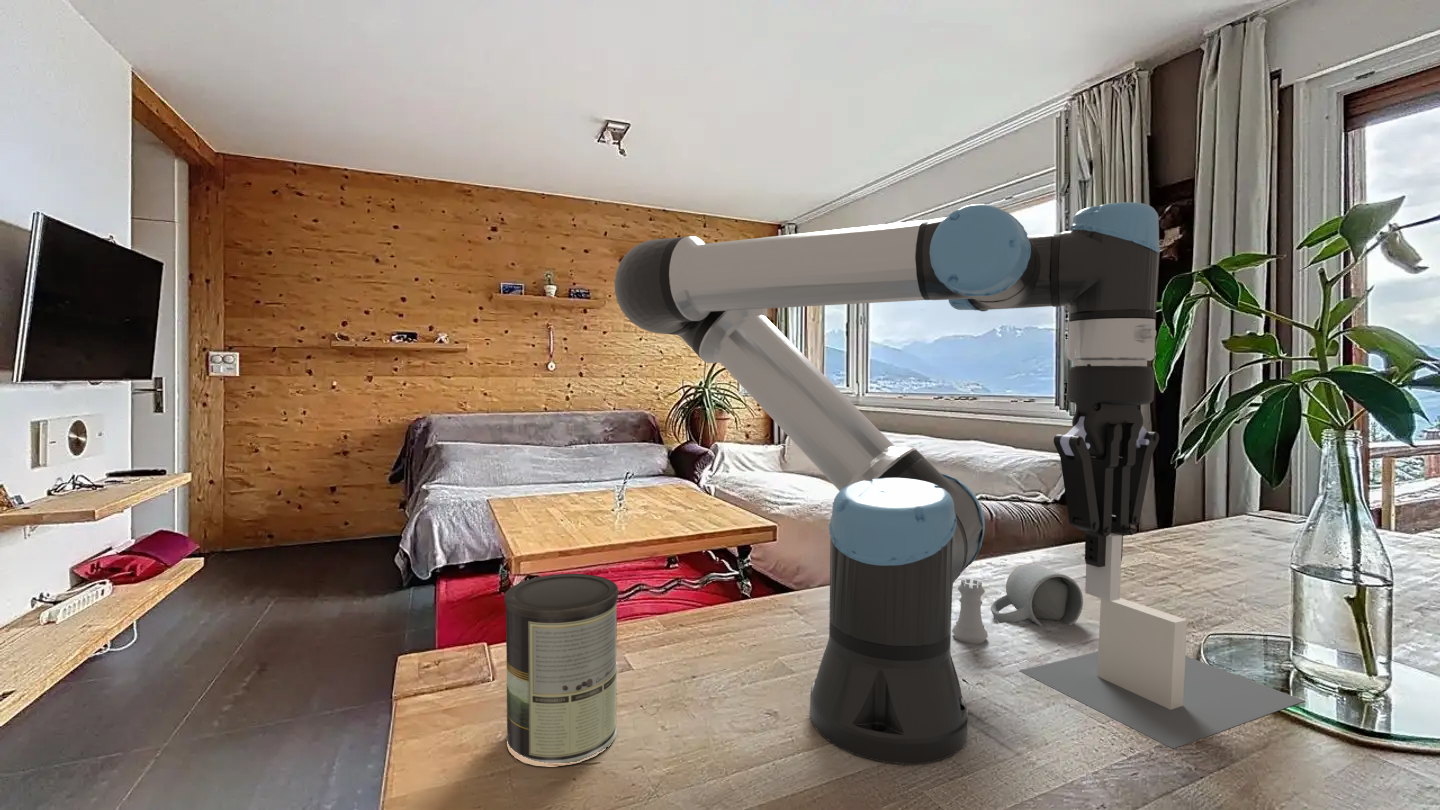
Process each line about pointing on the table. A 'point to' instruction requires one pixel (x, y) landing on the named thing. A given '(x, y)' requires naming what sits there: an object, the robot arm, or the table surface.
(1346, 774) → the table surface
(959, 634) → the rook chess piece
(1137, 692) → the tile
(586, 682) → the coffee can
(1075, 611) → the ceramic mug
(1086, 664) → the mat
